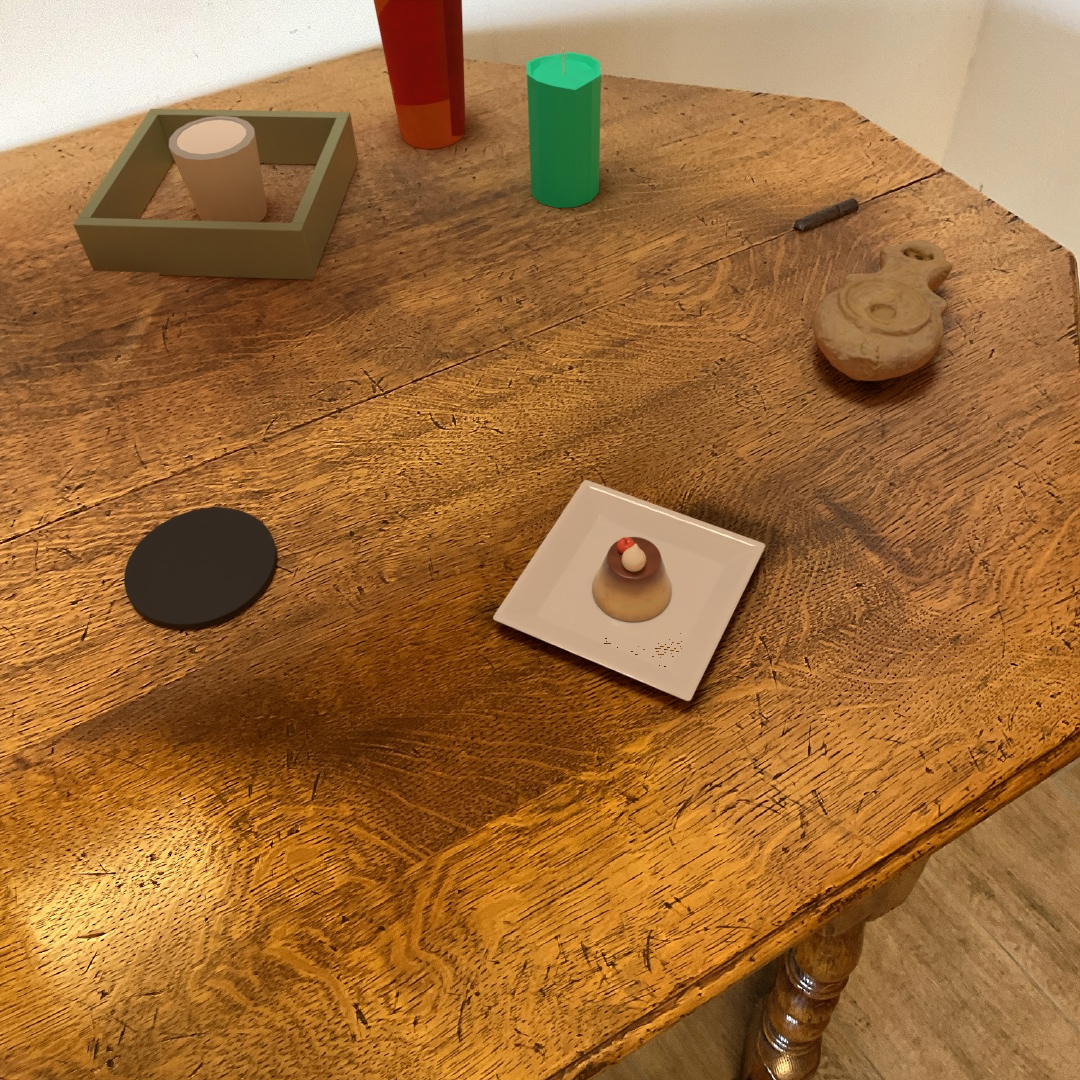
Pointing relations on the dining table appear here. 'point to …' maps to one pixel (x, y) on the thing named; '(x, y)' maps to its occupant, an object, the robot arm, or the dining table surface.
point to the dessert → (633, 587)
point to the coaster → (200, 568)
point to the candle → (564, 128)
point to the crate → (220, 245)
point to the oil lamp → (886, 314)
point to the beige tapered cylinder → (221, 168)
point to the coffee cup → (425, 68)
